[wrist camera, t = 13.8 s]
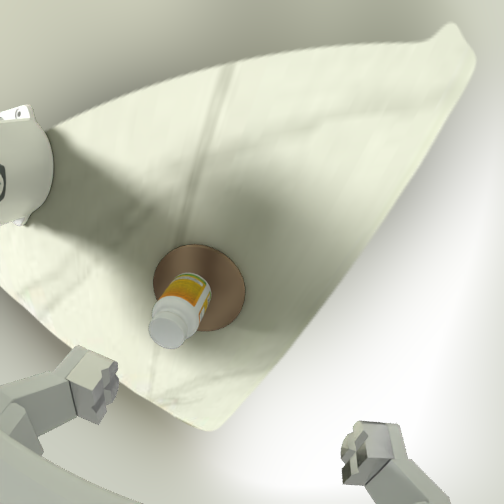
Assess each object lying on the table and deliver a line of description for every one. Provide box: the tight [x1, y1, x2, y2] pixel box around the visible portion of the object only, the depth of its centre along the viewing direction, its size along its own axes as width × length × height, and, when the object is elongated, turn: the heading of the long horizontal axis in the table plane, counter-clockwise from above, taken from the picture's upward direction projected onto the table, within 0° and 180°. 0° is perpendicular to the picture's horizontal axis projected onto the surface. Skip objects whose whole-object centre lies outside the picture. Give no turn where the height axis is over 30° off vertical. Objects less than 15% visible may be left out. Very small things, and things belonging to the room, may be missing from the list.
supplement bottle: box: [149, 273, 211, 349], centre depth 36 cm, size 5×5×10 cm
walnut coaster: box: [153, 244, 245, 331], centre depth 41 cm, size 12×12×1 cm
